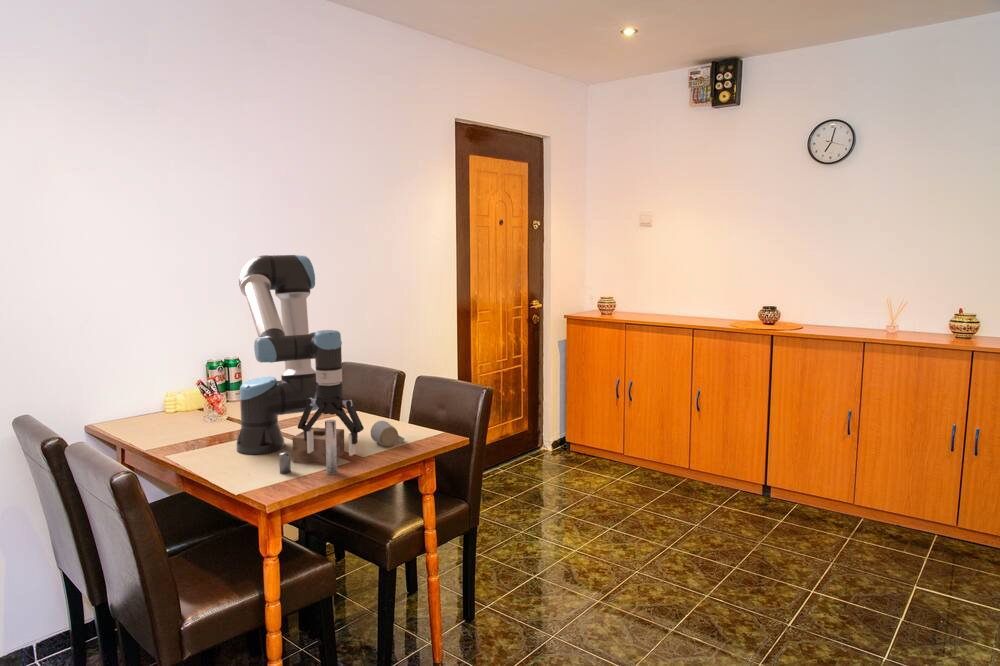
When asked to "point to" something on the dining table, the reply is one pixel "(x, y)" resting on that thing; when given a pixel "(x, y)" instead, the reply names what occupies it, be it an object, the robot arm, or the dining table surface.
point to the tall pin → (331, 447)
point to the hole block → (316, 447)
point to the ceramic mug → (385, 434)
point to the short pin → (284, 462)
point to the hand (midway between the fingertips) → (331, 453)
